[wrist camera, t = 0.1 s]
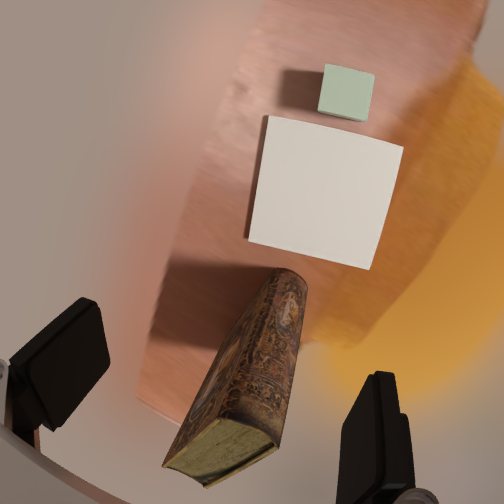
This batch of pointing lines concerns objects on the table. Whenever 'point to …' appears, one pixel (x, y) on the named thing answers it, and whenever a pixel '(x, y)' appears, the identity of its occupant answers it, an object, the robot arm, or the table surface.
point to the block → (346, 93)
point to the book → (245, 387)
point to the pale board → (323, 191)
